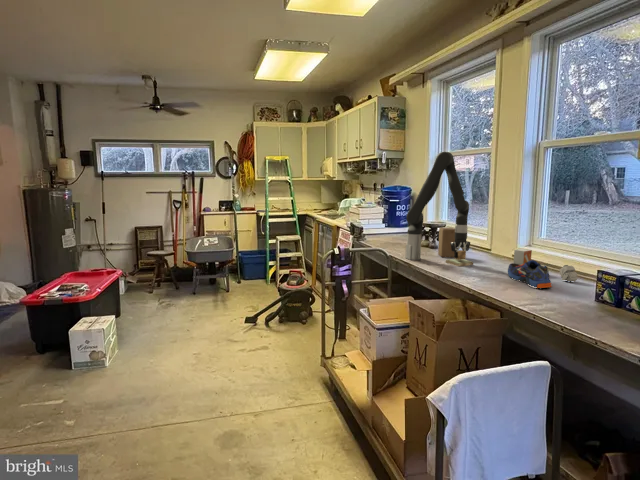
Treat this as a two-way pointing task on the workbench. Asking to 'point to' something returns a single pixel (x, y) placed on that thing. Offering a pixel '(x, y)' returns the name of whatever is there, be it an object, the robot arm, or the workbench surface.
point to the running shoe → (530, 274)
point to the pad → (459, 262)
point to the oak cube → (461, 255)
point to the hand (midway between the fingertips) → (459, 257)
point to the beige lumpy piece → (568, 273)
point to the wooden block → (446, 241)
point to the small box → (522, 256)
